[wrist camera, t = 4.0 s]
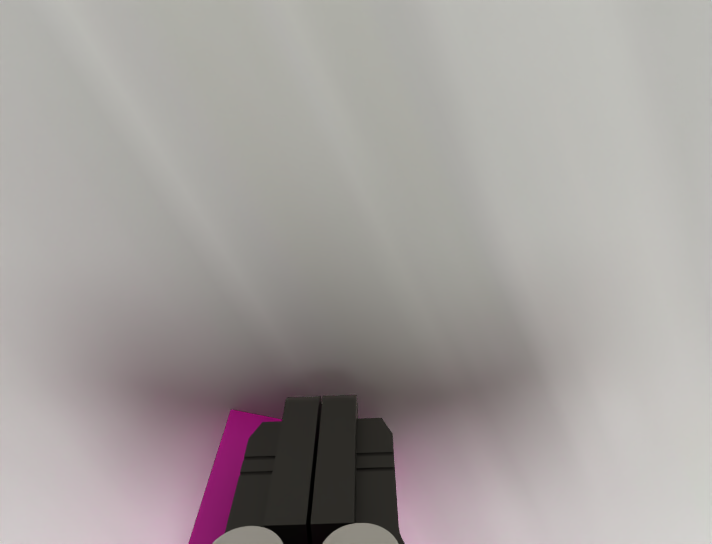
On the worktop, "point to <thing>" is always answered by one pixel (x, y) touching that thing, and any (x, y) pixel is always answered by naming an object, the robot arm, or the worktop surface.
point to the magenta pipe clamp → (225, 476)
